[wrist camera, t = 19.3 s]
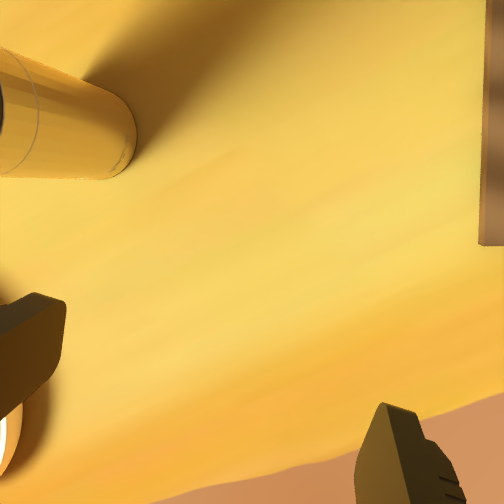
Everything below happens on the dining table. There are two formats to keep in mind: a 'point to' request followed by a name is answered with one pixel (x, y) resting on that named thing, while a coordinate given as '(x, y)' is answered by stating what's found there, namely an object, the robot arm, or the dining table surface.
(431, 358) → the dining table surface
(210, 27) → the dining table surface
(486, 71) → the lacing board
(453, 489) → the robot arm
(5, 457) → the bowl
